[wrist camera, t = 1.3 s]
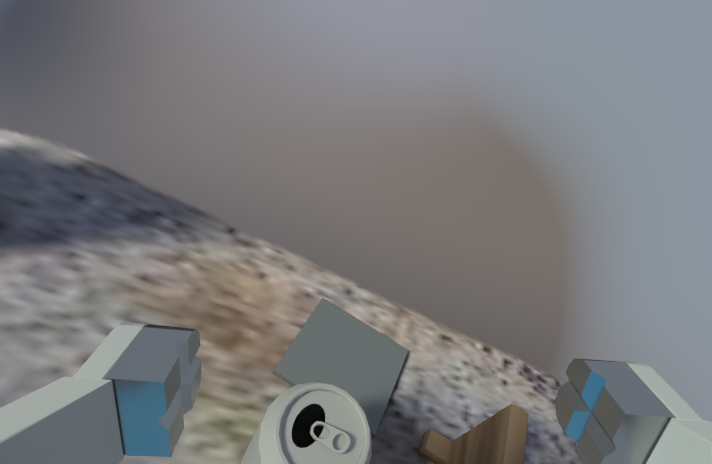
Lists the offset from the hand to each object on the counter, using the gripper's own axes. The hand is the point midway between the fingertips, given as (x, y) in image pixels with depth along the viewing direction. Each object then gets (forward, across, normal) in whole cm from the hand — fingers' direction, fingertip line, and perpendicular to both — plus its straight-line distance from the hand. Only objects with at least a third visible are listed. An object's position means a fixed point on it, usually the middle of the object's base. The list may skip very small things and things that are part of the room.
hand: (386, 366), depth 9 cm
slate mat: (+26, -1, +23) cm, 35 cm away
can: (+16, +3, +26) cm, 31 cm away
